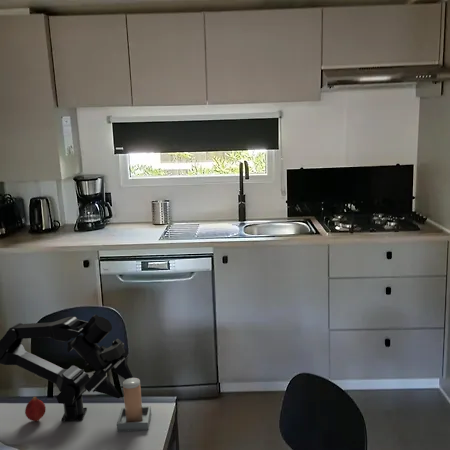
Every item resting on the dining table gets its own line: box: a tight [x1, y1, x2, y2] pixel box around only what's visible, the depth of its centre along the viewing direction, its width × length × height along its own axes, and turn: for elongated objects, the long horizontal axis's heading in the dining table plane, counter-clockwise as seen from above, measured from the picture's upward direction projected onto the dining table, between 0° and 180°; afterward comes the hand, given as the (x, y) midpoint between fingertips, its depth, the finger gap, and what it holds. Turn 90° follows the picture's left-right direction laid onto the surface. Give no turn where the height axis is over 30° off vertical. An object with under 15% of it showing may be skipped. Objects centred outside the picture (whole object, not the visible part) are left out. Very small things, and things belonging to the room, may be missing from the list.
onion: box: [24, 396, 47, 422], centre depth 155 cm, size 6×6×8 cm
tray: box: [116, 405, 152, 433], centre depth 153 cm, size 9×9×2 cm
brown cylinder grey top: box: [122, 377, 143, 422], centre depth 152 cm, size 5×5×12 cm
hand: (127, 389), depth 152 cm, fingers open, 9 cm apart
